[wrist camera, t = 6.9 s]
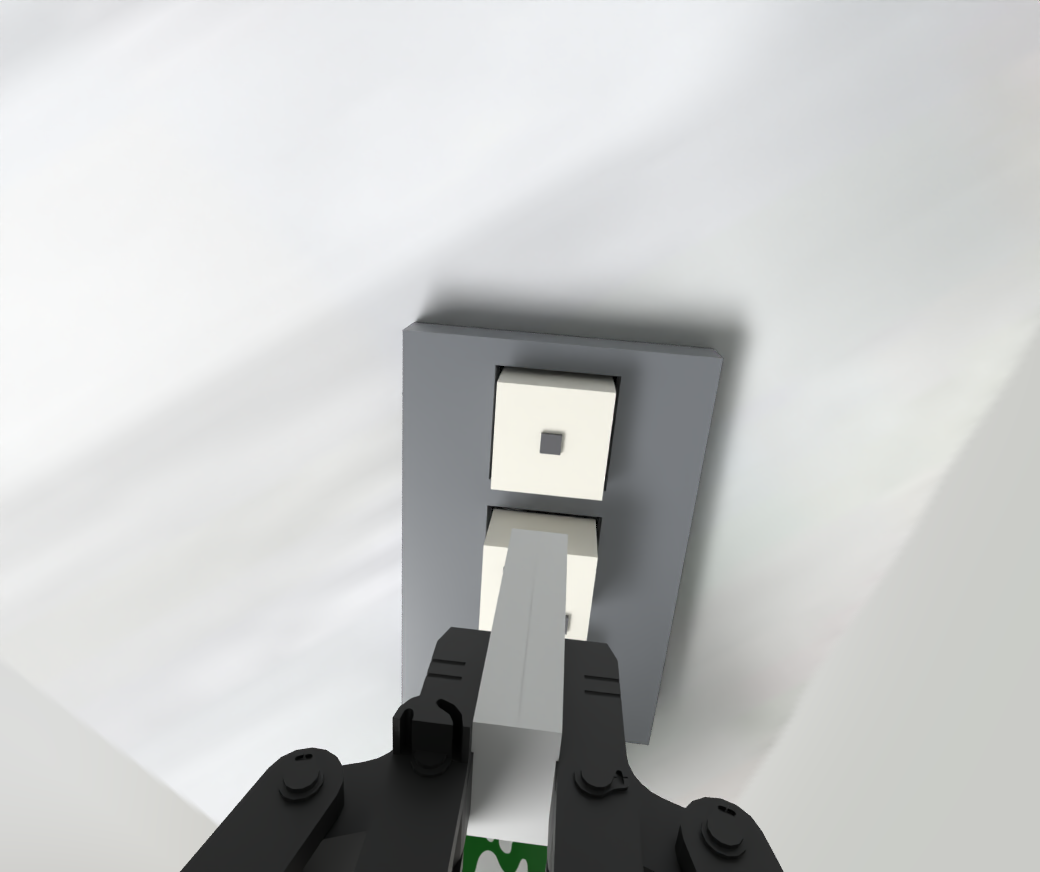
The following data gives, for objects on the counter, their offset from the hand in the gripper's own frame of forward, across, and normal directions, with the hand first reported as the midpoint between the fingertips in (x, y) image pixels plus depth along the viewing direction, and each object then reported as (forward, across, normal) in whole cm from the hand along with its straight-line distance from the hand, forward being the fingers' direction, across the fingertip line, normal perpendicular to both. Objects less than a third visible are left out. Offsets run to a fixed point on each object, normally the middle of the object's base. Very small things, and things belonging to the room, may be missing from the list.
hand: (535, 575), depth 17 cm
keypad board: (+14, 0, -7) cm, 16 cm away
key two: (+12, 0, -7) cm, 14 cm away
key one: (+14, 0, 0) cm, 14 cm away
